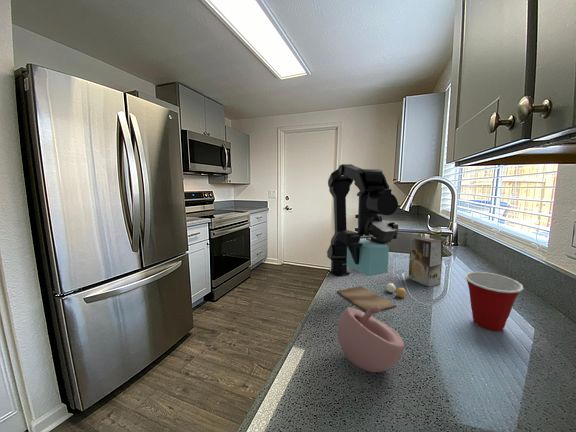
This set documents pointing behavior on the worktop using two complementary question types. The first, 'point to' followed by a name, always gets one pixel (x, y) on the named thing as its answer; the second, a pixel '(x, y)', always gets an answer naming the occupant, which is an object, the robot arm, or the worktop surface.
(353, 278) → the worktop surface
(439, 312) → the worktop surface
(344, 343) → the mortar and pestle
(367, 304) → the walnut board
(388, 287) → the white egg
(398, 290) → the amber egg
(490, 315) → the plastic cup
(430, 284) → the coffee box
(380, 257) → the light blue block
